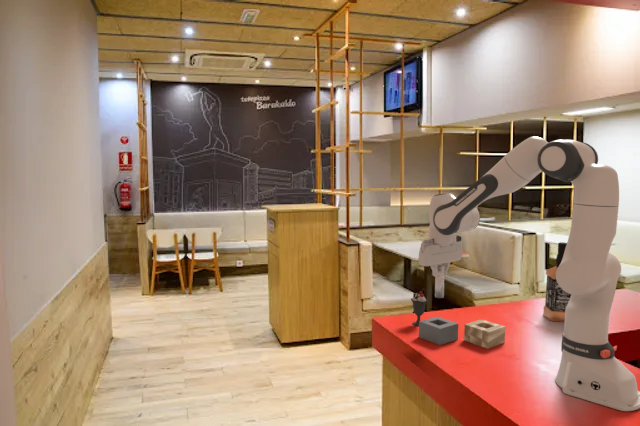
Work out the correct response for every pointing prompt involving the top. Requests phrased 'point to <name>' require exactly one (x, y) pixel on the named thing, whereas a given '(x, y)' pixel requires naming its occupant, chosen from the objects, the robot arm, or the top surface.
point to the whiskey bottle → (556, 291)
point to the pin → (440, 282)
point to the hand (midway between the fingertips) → (440, 275)
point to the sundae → (418, 305)
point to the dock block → (438, 330)
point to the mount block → (484, 333)
